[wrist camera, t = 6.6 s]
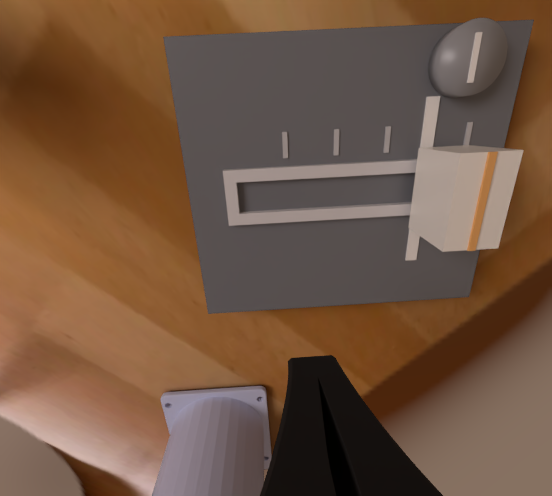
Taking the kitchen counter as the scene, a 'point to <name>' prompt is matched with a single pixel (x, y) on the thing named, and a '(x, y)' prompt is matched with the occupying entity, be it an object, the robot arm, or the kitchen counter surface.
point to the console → (332, 155)
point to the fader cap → (463, 195)
